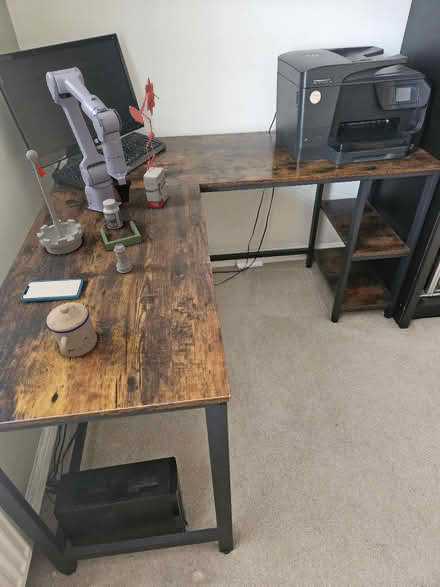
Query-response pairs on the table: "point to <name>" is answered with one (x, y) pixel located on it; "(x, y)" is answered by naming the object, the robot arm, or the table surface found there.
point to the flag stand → (55, 220)
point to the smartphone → (52, 290)
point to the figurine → (138, 117)
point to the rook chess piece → (122, 259)
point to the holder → (124, 241)
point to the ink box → (155, 187)
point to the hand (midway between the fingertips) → (123, 196)
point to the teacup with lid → (72, 329)
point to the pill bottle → (112, 214)
